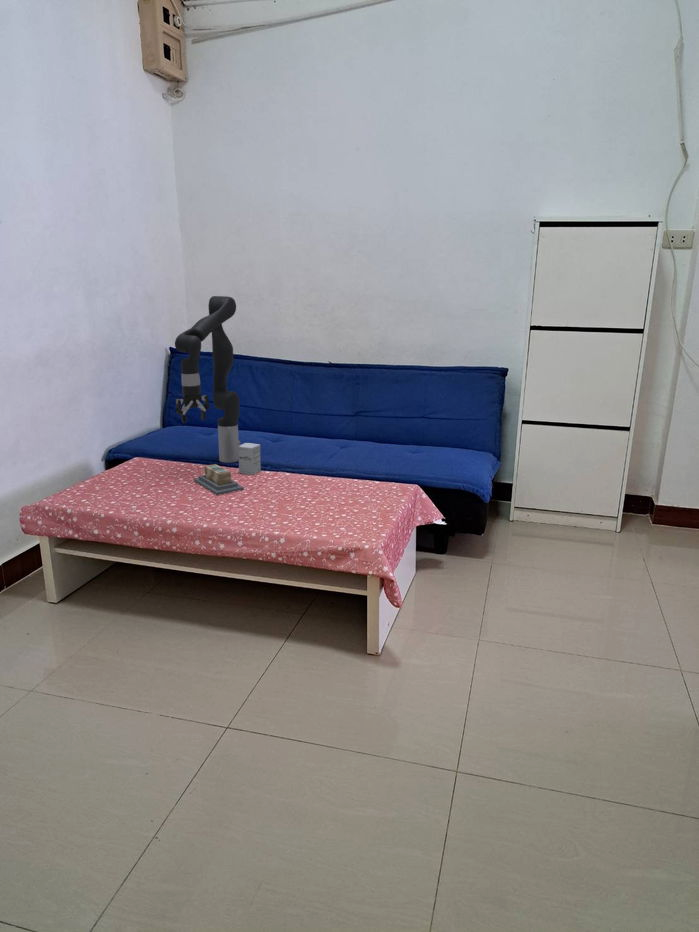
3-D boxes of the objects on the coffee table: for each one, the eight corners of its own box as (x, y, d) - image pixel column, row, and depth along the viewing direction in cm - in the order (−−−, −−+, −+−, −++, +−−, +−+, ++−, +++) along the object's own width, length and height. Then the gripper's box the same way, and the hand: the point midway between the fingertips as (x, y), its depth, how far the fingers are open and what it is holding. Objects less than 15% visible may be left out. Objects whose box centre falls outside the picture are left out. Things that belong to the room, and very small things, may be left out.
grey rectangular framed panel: (193, 481, 281) (193, 475, 281) (219, 476, 288) (219, 470, 287) (216, 495, 265) (216, 489, 264) (243, 489, 272) (243, 483, 271)
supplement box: (238, 473, 293) (237, 446, 289) (247, 468, 299) (246, 442, 296) (253, 475, 290) (252, 447, 287) (261, 470, 297) (260, 443, 293)
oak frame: (205, 479, 280) (204, 465, 278) (216, 477, 283) (215, 463, 281) (220, 488, 269) (219, 473, 268) (231, 486, 272) (230, 471, 270)
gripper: (202, 380, 282) (205, 417, 287) (171, 384, 274) (174, 422, 279) (210, 383, 277) (213, 420, 282) (179, 387, 268) (182, 425, 273)
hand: (193, 421), depth 280 cm, fingers open, 8 cm apart
